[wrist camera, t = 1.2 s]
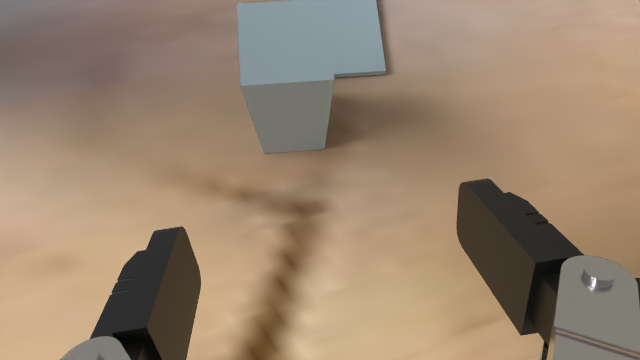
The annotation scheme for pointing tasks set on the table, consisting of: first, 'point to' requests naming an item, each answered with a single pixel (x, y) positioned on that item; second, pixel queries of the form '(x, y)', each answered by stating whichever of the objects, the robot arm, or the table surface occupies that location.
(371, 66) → the swatch tile
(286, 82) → the blue block
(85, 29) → the table surface
